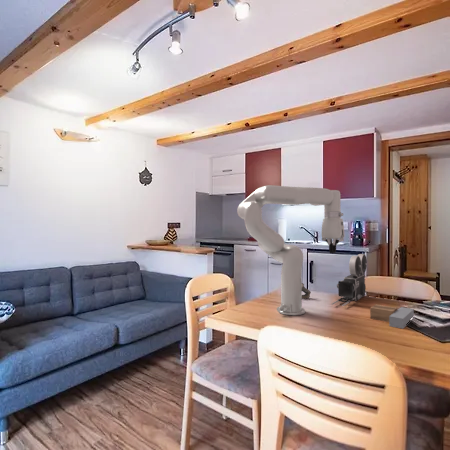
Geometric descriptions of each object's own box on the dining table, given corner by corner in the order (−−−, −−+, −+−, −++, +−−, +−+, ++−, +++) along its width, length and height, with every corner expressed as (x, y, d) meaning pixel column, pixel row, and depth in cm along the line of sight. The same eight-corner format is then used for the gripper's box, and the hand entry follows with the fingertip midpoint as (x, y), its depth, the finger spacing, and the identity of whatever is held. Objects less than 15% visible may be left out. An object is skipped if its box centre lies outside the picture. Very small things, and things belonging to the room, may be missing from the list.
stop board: (403, 328, 126) (403, 318, 126) (389, 326, 129) (389, 316, 129) (413, 318, 139) (413, 309, 139) (401, 315, 142) (401, 307, 142)
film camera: (350, 291, 191) (350, 252, 191) (371, 294, 184) (371, 253, 183) (324, 305, 160) (324, 258, 160) (348, 310, 153) (347, 260, 152)
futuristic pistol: (287, 306, 179) (279, 290, 179) (312, 295, 177) (303, 278, 177) (288, 307, 176) (279, 291, 177) (312, 296, 174) (304, 279, 175)
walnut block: (392, 323, 133) (392, 311, 133) (370, 318, 139) (370, 307, 139) (397, 319, 138) (397, 308, 138) (375, 315, 144) (375, 304, 144)
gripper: (350, 215, 153) (350, 253, 154) (321, 216, 163) (321, 251, 164) (344, 215, 148) (344, 254, 148) (314, 215, 158) (314, 252, 158)
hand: (332, 252), depth 156 cm, fingers closed
